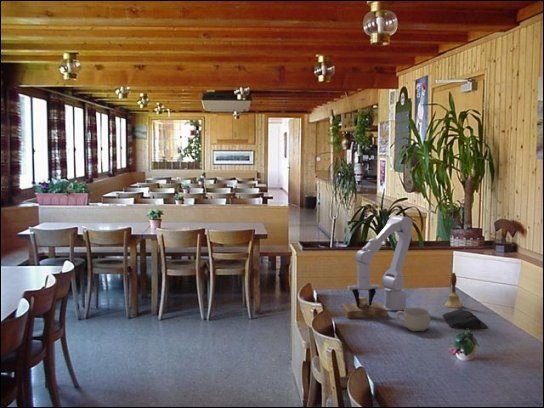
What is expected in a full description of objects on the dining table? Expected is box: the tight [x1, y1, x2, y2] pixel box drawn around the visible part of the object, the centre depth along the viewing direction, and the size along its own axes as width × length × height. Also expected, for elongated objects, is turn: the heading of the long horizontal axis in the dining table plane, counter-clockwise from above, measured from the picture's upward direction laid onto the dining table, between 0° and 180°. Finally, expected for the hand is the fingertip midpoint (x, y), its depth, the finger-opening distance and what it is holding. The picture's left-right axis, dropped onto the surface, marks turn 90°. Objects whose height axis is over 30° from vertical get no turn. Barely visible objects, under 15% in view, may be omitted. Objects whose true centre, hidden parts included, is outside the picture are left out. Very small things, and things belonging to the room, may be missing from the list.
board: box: [341, 301, 388, 319], centre depth 275 cm, size 18×14×3 cm
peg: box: [359, 296, 368, 309], centre depth 274 cm, size 4×4×7 cm
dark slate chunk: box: [442, 308, 488, 330], centre depth 258 cm, size 15×22×5 cm
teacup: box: [395, 307, 431, 332], centre depth 248 cm, size 14×11×8 cm
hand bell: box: [444, 272, 464, 309], centre depth 284 cm, size 8×8×16 cm
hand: (363, 305), depth 274 cm, fingers open, 5 cm apart
